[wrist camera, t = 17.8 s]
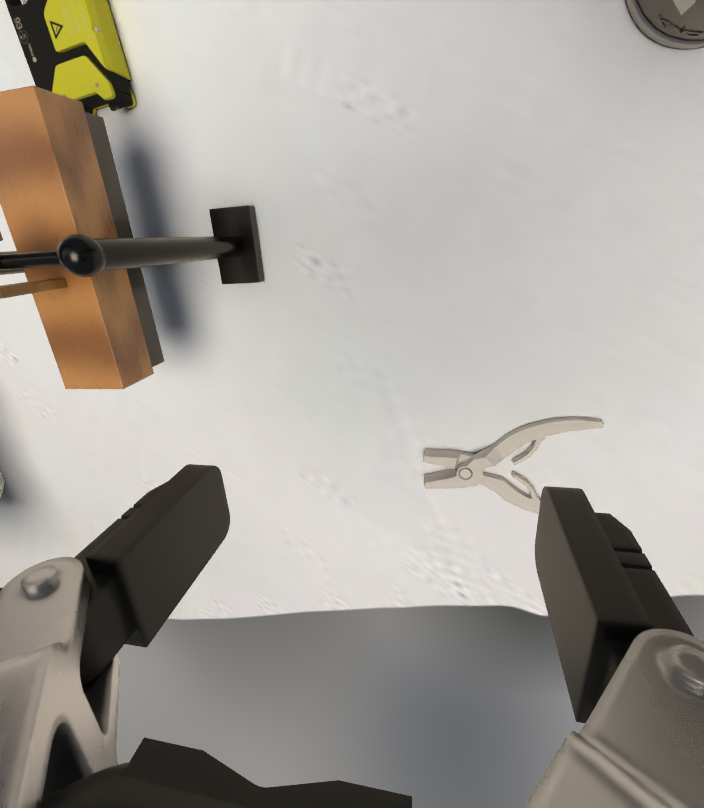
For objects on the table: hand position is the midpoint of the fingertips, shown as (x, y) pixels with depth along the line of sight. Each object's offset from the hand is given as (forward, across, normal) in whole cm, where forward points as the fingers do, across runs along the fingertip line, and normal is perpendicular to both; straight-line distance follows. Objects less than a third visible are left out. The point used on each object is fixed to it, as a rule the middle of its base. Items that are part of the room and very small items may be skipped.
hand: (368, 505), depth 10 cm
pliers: (+28, -8, +15) cm, 32 cm away
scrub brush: (+21, +23, -6) cm, 32 cm away
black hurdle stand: (+28, +23, -6) cm, 37 cm away
